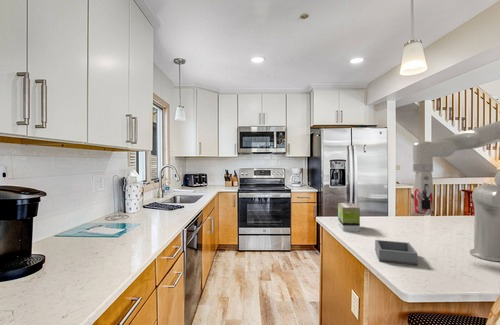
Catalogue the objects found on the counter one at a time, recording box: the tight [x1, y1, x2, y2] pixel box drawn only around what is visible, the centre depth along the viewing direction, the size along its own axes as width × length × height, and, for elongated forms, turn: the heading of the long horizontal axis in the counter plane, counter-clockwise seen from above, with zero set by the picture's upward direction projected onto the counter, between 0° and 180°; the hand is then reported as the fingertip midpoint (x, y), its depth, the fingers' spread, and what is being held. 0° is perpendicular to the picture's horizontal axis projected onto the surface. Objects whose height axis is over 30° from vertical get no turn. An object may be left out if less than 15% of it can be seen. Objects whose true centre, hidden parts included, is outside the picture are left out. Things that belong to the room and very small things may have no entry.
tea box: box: [337, 202, 361, 233], centre depth 161 cm, size 15×10×15 cm, turn 172°
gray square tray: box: [374, 239, 418, 267], centre depth 114 cm, size 14×14×5 cm
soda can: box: [413, 188, 434, 216], centre depth 119 cm, size 7×7×12 cm
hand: (423, 207), depth 119 cm, fingers closed on soda can, 7 cm apart
